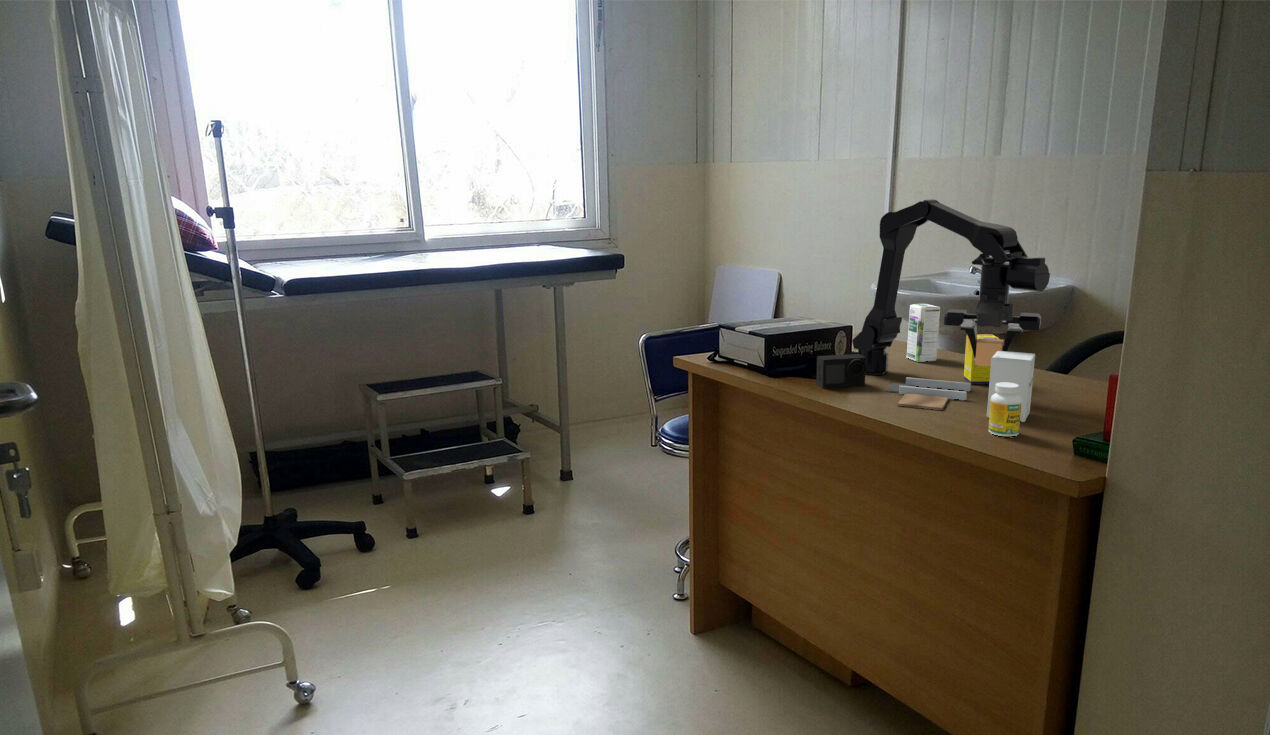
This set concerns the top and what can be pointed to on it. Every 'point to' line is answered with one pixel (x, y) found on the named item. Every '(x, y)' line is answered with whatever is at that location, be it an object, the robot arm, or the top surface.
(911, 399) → the coaster
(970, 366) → the supplement box
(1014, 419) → the supplement bottle
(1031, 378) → the supplement box
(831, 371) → the digital camera
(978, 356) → the block
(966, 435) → the top surface
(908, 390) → the channel
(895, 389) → the mat
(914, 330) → the syrup box
